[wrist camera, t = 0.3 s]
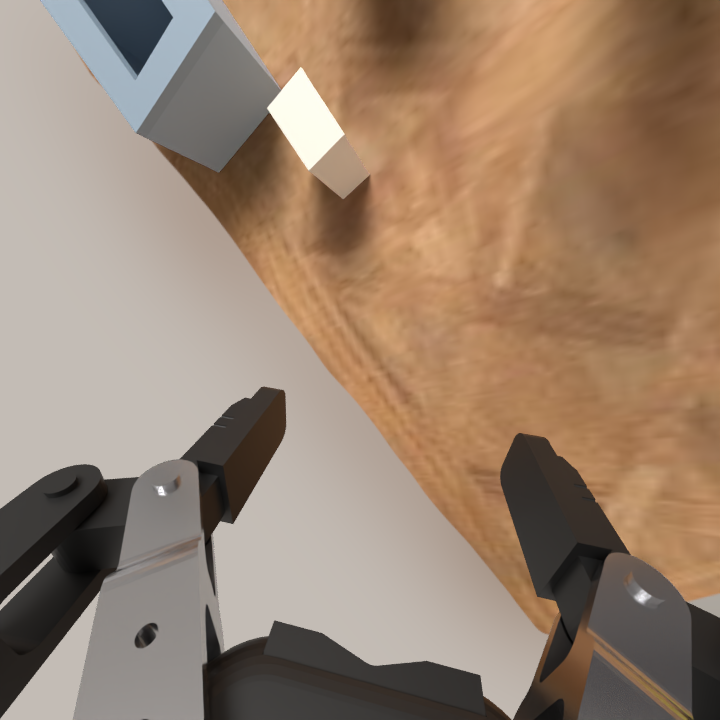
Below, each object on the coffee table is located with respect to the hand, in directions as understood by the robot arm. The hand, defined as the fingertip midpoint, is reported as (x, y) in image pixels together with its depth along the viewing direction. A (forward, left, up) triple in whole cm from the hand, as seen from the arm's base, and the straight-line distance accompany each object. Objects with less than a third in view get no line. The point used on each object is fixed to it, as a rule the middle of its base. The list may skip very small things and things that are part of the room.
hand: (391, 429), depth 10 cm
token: (-12, -16, -27) cm, 34 cm away
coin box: (-15, -34, -27) cm, 46 cm away
